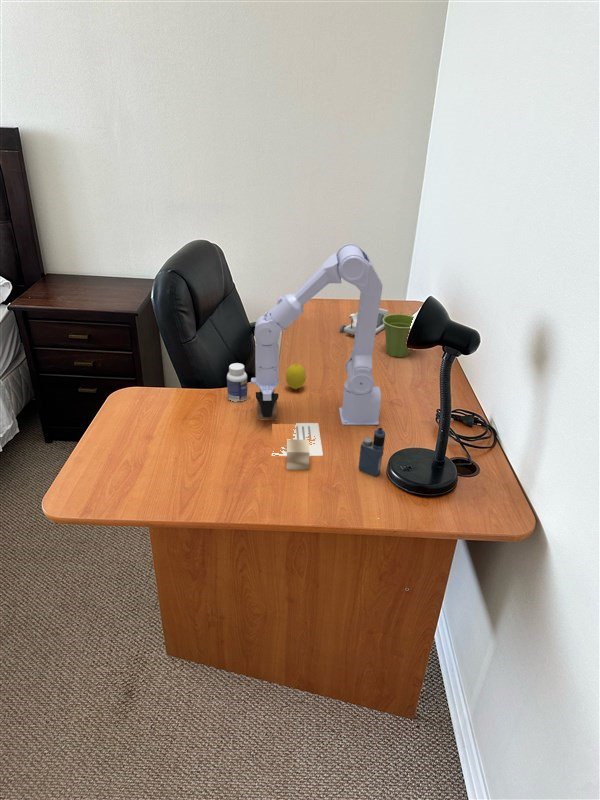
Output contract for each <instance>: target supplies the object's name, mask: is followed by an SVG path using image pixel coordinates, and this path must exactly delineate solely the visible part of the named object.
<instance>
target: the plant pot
mask: <svg viewBox="0 0 600 800" xmlns="http://www.w3.org/2000/svg"><path fill="white" fill-rule="evenodd" d="M414 317H415V316H412V315H409V314H403V313H392V314H388V315H387V316H385V317H383V322H384V328H385V329H384V330H385V349H386V354H387V355H389V356H391V357H398V358H405V357H408V356H409V355H410V351H411V349H408V348H407V347H406V342H407V337H408V334H409V330H410V326H411V323H412V320H413V318H414Z"/></svg>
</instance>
